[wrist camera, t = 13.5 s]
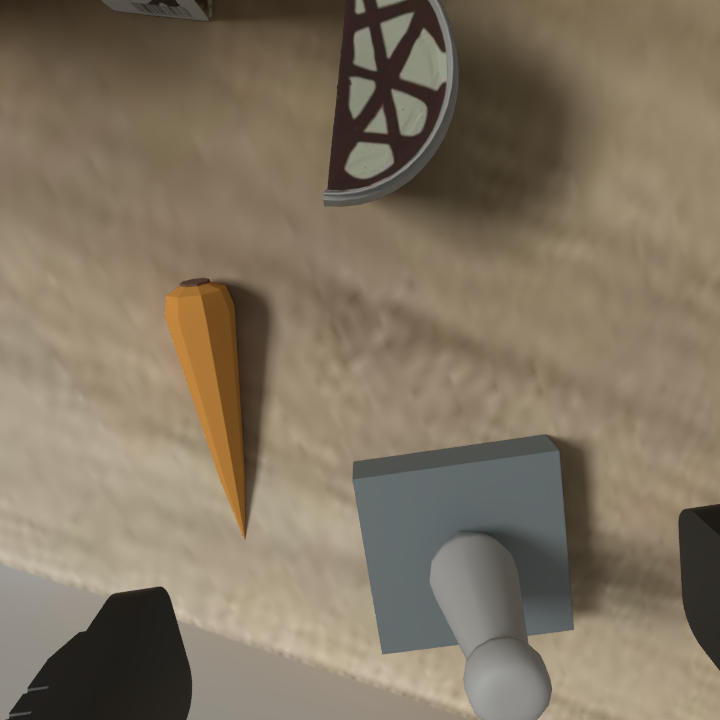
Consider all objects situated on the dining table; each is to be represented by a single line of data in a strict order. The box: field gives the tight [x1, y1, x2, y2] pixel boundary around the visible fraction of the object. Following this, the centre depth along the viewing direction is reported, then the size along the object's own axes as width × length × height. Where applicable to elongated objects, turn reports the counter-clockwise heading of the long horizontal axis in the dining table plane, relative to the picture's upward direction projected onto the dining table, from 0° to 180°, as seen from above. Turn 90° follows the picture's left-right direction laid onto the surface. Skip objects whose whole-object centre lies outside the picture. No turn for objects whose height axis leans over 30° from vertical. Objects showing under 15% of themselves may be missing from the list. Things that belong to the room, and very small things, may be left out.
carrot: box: [165, 278, 245, 539], centre depth 42 cm, size 20×4×4 cm, turn 6°
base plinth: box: [353, 435, 574, 654], centre depth 43 cm, size 14×14×3 cm
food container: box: [323, 0, 459, 207], centre depth 33 cm, size 12×6×10 cm, turn 173°
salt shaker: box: [430, 531, 552, 720], centre depth 35 cm, size 6×6×13 cm
